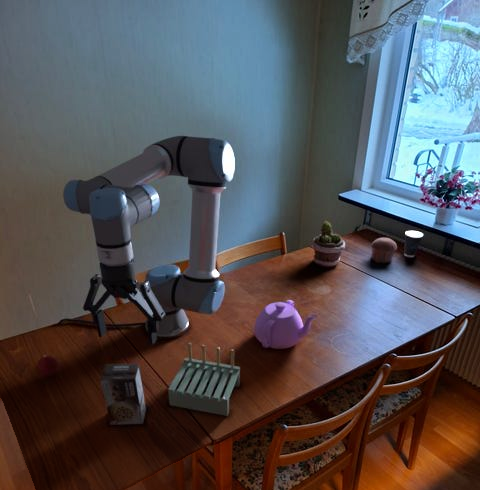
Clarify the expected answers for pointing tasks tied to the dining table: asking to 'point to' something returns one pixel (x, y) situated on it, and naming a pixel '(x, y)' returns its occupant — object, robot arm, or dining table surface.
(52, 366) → the onion
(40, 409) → the dining table surface
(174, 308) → the robot arm
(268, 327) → the teapot
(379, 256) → the muffin
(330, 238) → the flowerpot
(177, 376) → the rack
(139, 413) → the coffee box
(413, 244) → the dixie cup
